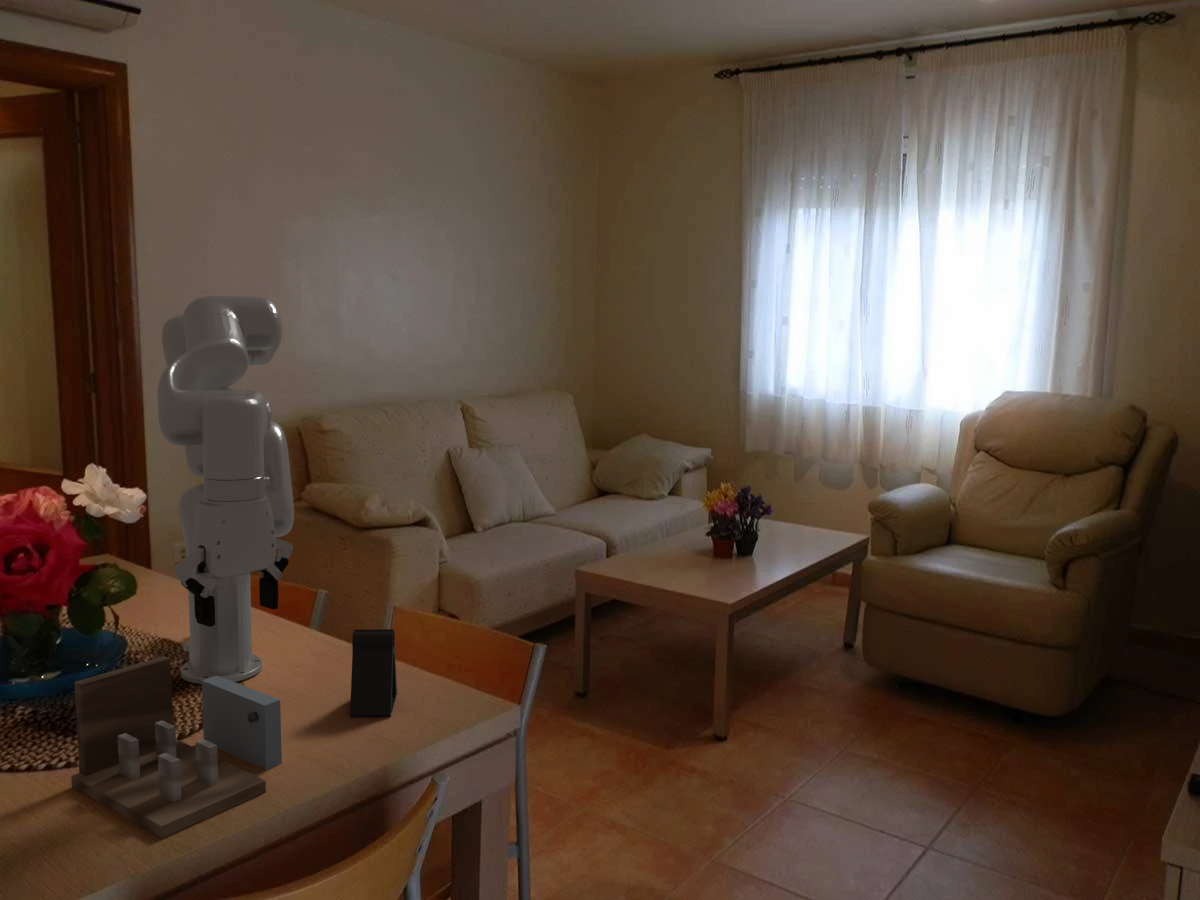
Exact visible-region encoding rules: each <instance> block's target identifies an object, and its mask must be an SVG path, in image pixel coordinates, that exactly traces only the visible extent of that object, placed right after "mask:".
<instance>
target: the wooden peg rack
mask: <svg viewBox="0 0 1200 900" xmlns="http://www.w3.org/2000/svg"><path fill="white" fill-rule="evenodd" d="M171 662H172V661H171V658H170V657H167V656H165V655H163V656H160V657H156V658H153V659H149V660H146V661H142V662H140V663H135V664H132V665H129V666H125V667H122V668H119V669H115V670H112V671H108V672H104V673H102V674H98V675H94V676H91V677H87V678H83V679H80V680H76V681H74V695H75V696H74V698H75V717H76V718H75V719H76V720H75V721H76V733H77V735H76V737H77V749H78V750H77V751H78V753H77V754H78V773H75V774H72V775H71V787H72V789H75V790H76V791H78V792H80V793H81V794H83V795H85V796H87V797H88V798H90V799H93V801H96V802H97V803H99V804H101V805H102V806H105V807H107V808H108V809H110V810H111V811H114V812H115V813H117V814H118V815H120V816H122V817H124V818H125V819H127V820H128V821H131V822H132V821H133V822H132V823H134V824H136V825H138V826H139V827H141V828H143V829H144V830H147V831H148V832H150V833H151V834H154V835H155V836H157V837H158V838H159V839H160V838H161V839H164V838H167V837H168V836H171V835H174V834H175V833H177V832H180V831H183V830H184V829H187V828H189V827H190V826H194V825H196V824H197V823H198V824H199V823H200V822H202V821H204V820H207V819H208V818H209V819H210V818H211V817H213V816H215V815H218V814H219V813H222V812H224V811H227V810H228V809H231V808H234V807H235V806H237V805H240V804H242V803H245V802H247V801H250V799H253V798H255V797H257V796H261V795H262V794H264V793H266V792H267V789H266V787H267V786H266V785H267V784H266V780H265V779H263V778H261V777H260V776H259V777H258V776H256V775H254V774H252V773H250V772H248V771H246V770H243V769H241V768H239V767H238V766H235V765H233V764H231V763H228V762H227V761H225V760H222V759H220V758H218V748H217V745H215V744H213V743H211V742H209V741H206V740H204V738H202V739H198V740H196V741H195V747H194V746H193V745H190V744H188V743H185V742H184V741H181V740H178V739H177V738H176V736H177V733H176V726H175V725H174V717H173V716H174V715H173V692H172V690H173V689H172V669H171V667H172V665H171Z"/></svg>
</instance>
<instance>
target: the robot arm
mask: <svg viewBox="0 0 1200 900" xmlns="http://www.w3.org/2000/svg"><path fill="white" fill-rule="evenodd" d="M282 336H283V322H282V318H281V314H280V311H279V309H278V307H277V306H276V304H275V303H274V302H273V301H272V300H270V299H268V298H266V297H261V296H260V297H259V296H240V295H239V296H237V295H236V296H235V295H233V296H232V295H229V296H228V295H207V296H201V297H199V298H195V299H194V300H192V301H191V302H190V303H189V304H188V305H187V306H186V307H185V309H184V311H183V314H181V315H180V314H179V315H177V316H174V317H171V318H169V319H167V321H165V323H164V324H163V327H162V332H161V343H162V344H161V345H162V349H163V356H164V359H165V364H166V366H167V367H165V369H164V370H163V372H162V374H161V376H160V378H159V381H158V386H157V393H156V394H157V398H156V399H157V414H158V424H159V428H160V431H161V434H162V436H163V438H164V439H165V440H166V441H167V442H168V443H170V444H173V445H175V446H180V447H181V446H182V447H183V446H184V448H185V449H184V450H185V458H186V464H187V466H188V467H187V468H188V469H189V471H190V472H191V474H192V475H194V476H196V477H198V478H203V484H202V483H201V484H199V485H195V486H193V487H190V488H188V489H186V491H184V492H183V494H182V495H181V497H180V500H179V504H178V513H179V520H180V525H181V530H182V531H181V532H182V536H183V541H184V548H185V558H184V559H182V560H181V561H180V562H179V563H178V562H177V564H176V565H175V566H174V567H173V571H174V573H175V575H176V576H177V578H178V580H179V581H180V585H181V586H182V587H184V588H185V589H186V590H187V591H188V592H187V593H188V595H187V597H188V615H189V619H188V620H189V642H184V643H183V645H182V649H183V650H184V651H186V652H188V658H189V660H188V661H186V662H185V663H184V664H183V665H182V666H181V667H180V676H181V678H182V680H184V681H186V682H188V681H189V682H188V683H191V682H192V683H191V684H195V683H197V684H196V685H202V680H204V679H207V678H211V677H214V676H220V677H222V678H225V679H228V680H230V681H233V682H235V683H238V682H241V681H244V680H247V679H250V678H252V677H253V676H256V675H257V674H258V673H260V672H261V670H262V669H263V661H262V659H261V658H260V656H258V655H256V654H254V653H253V648H252V647H253V643H252V642H253V641H252V637H253V636H252V605H251V604H252V603H251V601H252V600H251V574H254V573H258V572H259V573H261V575H262V576H261V577H259V581H258V585H259V587H258V589H259V592H258V593H259V605H260V606H261V607H263V608H266V609H271V610H278V608H279V599H280V598H279V581H280V580H281V579H282V577H283V572H284V571H285V569H286V568H287V567H288V564H289V558H290V557H291V556H292V552H293V551H294V545H293V543H291V542H289V541H286V540H284V539H281V538H279V537H283V536H286V535H288V534H289V533H290V532H291V530H292V528H293V526H294V521H295V509H294V508H295V507H294V505H295V504H294V495H293V494H294V493H293V487H292V486H293V485H292V478H291V470H290V469H291V468H290V467H291V466H290V458H289V457H290V456H289V448H288V447H289V446H288V442H287V438H286V434H285V432H284V429H283V428H282V426H281V425H280V424H278V422H275V421H273V420H272V413H271V412H272V411H271V404H270V402H269V401H267V399H266V397H264V395H263V394H262V393H260V392H259V391H257V390H253V389H252V390H251V389H232V387H231V386H232V385H234V384H235V383H238V382H239V381H240V380H241V379H242V378H243V377H244V375H245V374H246V372H247V371H248V367H249V366H258V365H260V366H261V365H265V364H267V363H270V362H271V361H272V359H273V357H274V355H275V354H276V353H277V351H278V349H279V348H280V344H281V341H282V338H283V337H282ZM277 550H278V551H277ZM198 683H199V684H198Z"/></svg>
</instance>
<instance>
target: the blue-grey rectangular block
mask: <svg viewBox="0 0 1200 900" xmlns="http://www.w3.org/2000/svg"><path fill="white" fill-rule="evenodd" d="M201 701H202V706H201V707H202V727H203V728H202V730H203V731H202V732H203V733H202V734H203V739H204V740H206V741H209V742H211V743H213V744H215V745H217V749H219V750H221V751H224V752H226V753H228V754H231V755H233V756H236V757H237V758H239V759H241V760H244V761H246V762H248V763H250V764H252V765H255V766H257V767H260V768H262V769H264V770H265V771H268V770H270V769H272V768H274V767H277V766H279V765H282V763H283V760H282V759H283V757H282V721H281V720H282V719H281V718H282V717H281V715H282V714H281V713H282V711H281V699H279V698H276V697H274V696H271V695H269V694H267V693H263V692H261V691H258V690H256V689H253V688H250V687H248V686H246V685H242V684H240V683H238V682H233V681H230V680H228V679H225V678H222V677H220V676H214V677H211V678H207V679H204V680H202V684H201Z"/></svg>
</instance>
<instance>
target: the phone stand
mask: <svg viewBox="0 0 1200 900" xmlns="http://www.w3.org/2000/svg"><path fill="white" fill-rule="evenodd" d="M395 633H396V632H395V629H393V628H392V629H353V632H352V637H351V638H352V640H351V642H352V644H351V645H352V646H351V647H352V655H351V657H352V659H351V679H350V681H351V682H350V705H349V706H350V707H349V717H350V718H391V717H392V714H391V713H393V709H394V707H395V704H394V703H396V700H395V699H397V697H396V695H397V696H398V686H397V684H398V683H397V682H398V681H397V667H396V665H397V664H396V661H397V660H396V648H395V647H396V645H395V641H396V640H395V637H396V635H395ZM393 706H394V707H393Z"/></svg>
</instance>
